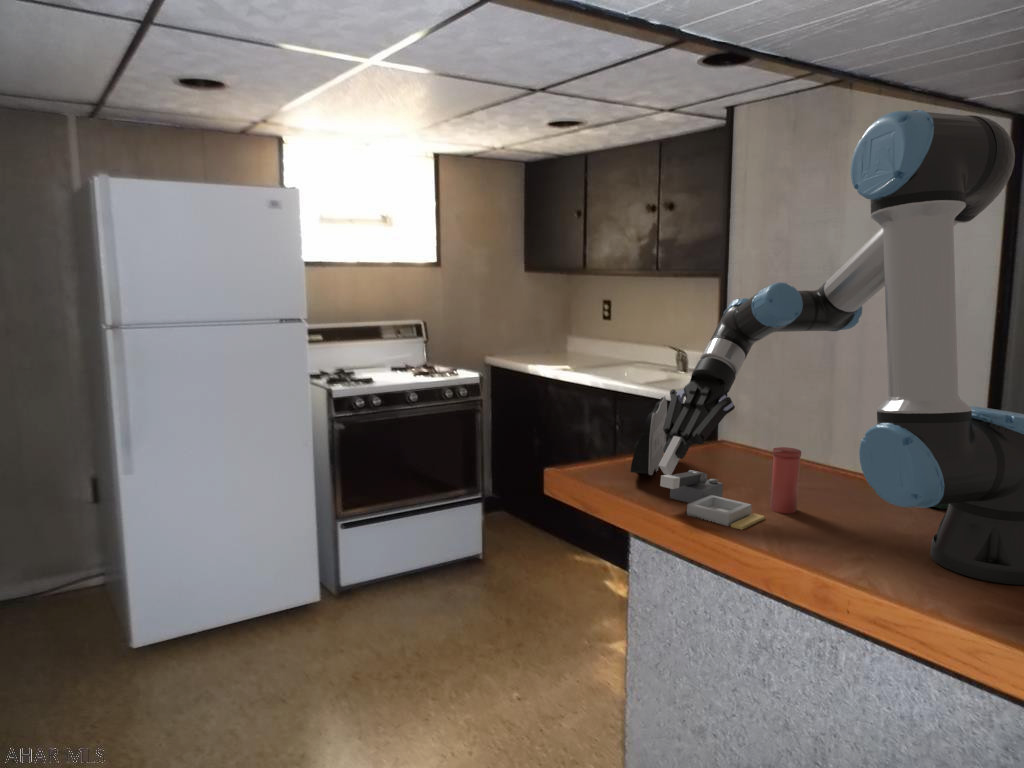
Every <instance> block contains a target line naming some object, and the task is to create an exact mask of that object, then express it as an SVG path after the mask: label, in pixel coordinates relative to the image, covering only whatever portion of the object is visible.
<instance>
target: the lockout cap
mask: <svg viewBox="0 0 1024 768" xmlns="http://www.w3.org/2000/svg"><path fill="white" fill-rule="evenodd" d="M772 455H773V458H772V459H773V461H772V462H773V463H772V474H771V475H772V476H771V477H772V478H771V479H772V480H771V494H770V495H771V497H770V510H771V511H773V512H775V513H778V514H784V515H785V514H787V515H788V514H789V515H790V514H794V513H797V508H798V507H797V505H798V493H799V492H798V489H799V476H800V475H799V473H800V462H801V461H800V460H801V457H802V450H801V449H797V448H795V447H785V446H781V447H780V446H779V447H777V446H776V447H774V448H772Z"/></svg>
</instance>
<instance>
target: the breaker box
mask: <svg viewBox="0 0 1024 768" xmlns="http://www.w3.org/2000/svg"><path fill="white" fill-rule="evenodd" d="M723 487H724V483H723V482H719V480H718V479H717V478H709V479H707V481H706V483H705V484H703V483H696V484H691V485H686V486H681V487H679V488H676V489H670V488H669V491H670V492H669V499H673V500H676V501H680V502H683V503H687V504H689V503H692V502H694V501H697V500H699V499H702V498H704V497H707V496H709V495H714V496H718V497H722V498H723V492H724V491H723V490H724V488H723Z"/></svg>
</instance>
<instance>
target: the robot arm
mask: <svg viewBox="0 0 1024 768" xmlns="http://www.w3.org/2000/svg"><path fill="white" fill-rule="evenodd" d="M1015 159H1016V152H1015V146H1014V143H1013V140H1012V138H1011V136H1010V134H1009V133H1008V131H1007V130H1006V129H1005V128H1004V127H1003V126H1002V125H1001V124H999V123H998V122H996V121H995V120H992V119H990V118H988V117H985V116H981V115H980V116H979V115H964V114H963V115H961V114H952V113H951V114H950V113H940V112H930V111H926V110H923V109H922V110H921V109H914V110H911V111H910V110H904V111H903V110H900V111H899V110H898V111H897V110H896V111H892V112H889V113H886V114H884V115H882V116H880V117H879V118H878V119H876V120H875V121H874V122H873V123H871V124H870V125H869V126H868V127H867V129H865V131H864V133H863V135H862V136H861V138H860V139H859V140H858V142H857V144H856V146H855V149H854V151H853V154H852V157H851V162H850V163H851V165H850V180H851V184H852V186H853V188H854V189H855V190H857V191H856V192H857V193H858V194H859V195H860V197H863V198H865V199H867V200H869V201H870V218H871V219H872V220H873V221H875V222H876V223H877V224H879V226H880V227H881V228H879V229H878V230H877V231H876V232H875V233H874V234H873V235H872V236H871V237H870V238H869V239H868V240H867V241H866V242H865V243H864V244H863V245H862V246H861V247H860V248H859V249H858V250H857V251H856V252H855V253H854V254H853V255H852V256H850V257H849V259H848V260H847V261H846V262H844V264H843V265H842V266H841V267H840V268H839V269H838V270H836V271H835V273H833V275H832V276H830V277H829V278H828V279H827V280H826V281H825V282H824V283H823V284H822V285H821V286H820V287H818V288H817V289H816V290H815V289H814V290H797V288H796V287H794V286H792V285H790V284H788V283H786V282H775V283H772V284H771V285H769V286H766V287H764V288H761V289H760V290H759V291H758V292H757V293H756V294H754V295H753V296H751V297H750V298H746V297H744V298H736V299H734V300H732V301H731V302H730V304H729V305H728V307H727V308H726V309H725V310H724V311H723V314H722V316H721V319H720V320H719V323H717V324H718V325H717V327H716V329H715V330H714V332H713V334H712V336H711V338H710V340H709V342H708V343H707V345H706V346H705V348H704V350H703V352H702V354H701V356H700V358H699V360H698V362H697V363H696V365H695V367H694V369H693V372H692V373H691V377H690V381H689V382H688V383H686V384H685V386H684V387H683V389H680V390H676V389H675V388H674V389H671V390H670V391H669V395H670V396H669V397H670V399H669V400H670V401H669V404H668V407H667V416H666V419H665V423H664V427H663V431H664V432H665V434H666V438H667V440H666V445H665V446H664V448H663V451H664V453H663V457H662V459H661V461H660V463H659V465H658V466H659V468H660V470H661V472H662V473H663V475H673V473H674V471H675V469H676V466H677V465H678V463H679V461H680V459H682V460H683V459H684V458H685V457H686V455H687V453H688V451H689V449H690V447H691V446H693V445H694V444H698V445H703V443H704V442H705V441H706V440H707V439H708V438H709V436H710V435H711V434H712V433H713V431H714V430H715V429H716V427H717V426H718V425H719V424H720V423H721V422H722V421H723V419H724V417H725V416H727V414H729V413H730V412H732V411H734V410H735V408H736V406H735V404H734V402H733V400H732V398H731V397H730V396H728V393H729V392H730V390H731V388H732V386H733V384H734V383H735V380H736V377H737V376H738V375H739V373H740V370H741V368H742V367H743V364H744V362H745V361H746V359H747V356H748V354H749V353H750V350H751V349H752V347H753V346H754V344H756V343H757V342H758V341H761V340H762V339H764V338H766V337H767V336H769V335H771V334H774V333H781V332H783V333H784V332H785V333H786V332H790V333H791V332H826V331H827V332H838V331H844V330H845V331H846V330H850V329H852V328H854V327H855V326H856V325H857V324H858V323H859V321H860V318H861V317H862V314H863V305H864V304H866V303H867V302H868V301H869V300H870V299H872V298H873V297H874V296H875V295H876V294H878V292H880V290H882V289H883V288H884V289H885V290H884V294H885V295H884V296H885V298H884V299H885V300H884V301H885V303H884V304H885V328H886V329H885V330H886V361H887V363H886V364H887V366H886V367H887V398H886V399H885V400H884V401H883V402H882V403H881V404H880V405H879V407H877V408H876V424H875V425H873V426H872V427H870V428H868V430H867V431H866V432H865V434H864V437H862V438H861V440H860V443H859V444H860V445H859V448H858V449H859V450H858V453H859V454H858V456H859V457H858V458H859V459H858V460H859V464H860V469H861V471H862V473H863V475H864V478H865V480H866V482H867V484H868V485H869V486H870V487H871V488H873V490H874V492H875V494H877V495H878V497H880V499H883V501H885V502H887V503H888V504H891V505H893V506H896V507H899V508H900V507H901V508H921V509H927V508H931V507H933V506H935V505H943V504H949V506H948V508H946V509H947V510H946V511H945V513H944V515H943V517H942V520H941V521H940V524H939V526H938V527H937V531H936V533H935V534H934V535H933V537H932V539H931V544H930V555H929V556H930V558H931V559H932V560H933V562H935V563H937V564H938V565H940V566H941V567H943V568H945V569H946V570H950V571H952V572H955V573H956V574H961V575H963V576H966V577H969V578H972V579H973V578H974V579H978V580H981V581H986V582H990V583H997V584H1004V585H1005V584H1007V585H1020V586H1024V413H1018V412H1014V411H1009V410H1002V409H994V408H990V407H982V406H975V405H974V406H973V405H969V404H967V403H966V402H965V401H964V400H963V399H961V397H960V395H959V374H958V343H957V342H958V339H957V337H958V336H957V306H956V305H957V304H956V302H957V301H956V275H955V274H956V272H955V271H956V269H955V268H956V267H955V265H956V264H955V236H954V235H955V230H954V229H955V228H954V227H955V226H956V225H958V224H965V223H966V224H967V223H969V222H971V221H972V220H974V219H975V218H976V217H977V216H978V215H979V214H981V213H982V212H983V211H984V210H986V209H987V207H989V206H990V205H991V204H992V203H993V201H995V199H997V197H998V196H999V195H1000V194H1001V192H1002V191H1003V190H1004V189H1005V187H1006V186H1007V183H1008V182H1009V180H1010V177H1012V173H1013V171H1014V167H1015ZM684 398H685V399H684ZM683 403H684V404H683ZM682 404H683V407H682ZM933 508H934V507H933Z"/></svg>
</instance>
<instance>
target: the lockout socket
mask: <svg viewBox="0 0 1024 768" xmlns="http://www.w3.org/2000/svg"><path fill="white" fill-rule="evenodd" d="M752 506H753V504H750V503H747V502H743V501H739V500H735V499H730V498H725V497H723V496H722V497H718V496H714V495H709V496H707V497H704V498H702V499H699V500H697V501H694V502H692V503H687V505H686V507H687V508H686V516H688V517H692V518H696V517H697V518H696V519H699V518H700V519H699V520H703V519H704V520H703V521H707V520H708V521H707V522H711V521H712V522H711V523H714V522H715V524H719V525H722V526H726V527H729V526H730V528H733V529H738V530H741V531H742V530H744V529H747V528H748V527H750V526H753V525H755V524H756V523H758V522H760V521H761V522H762V521H763V520H765V515H761V514H758V513H752V508H753V507H752Z"/></svg>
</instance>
